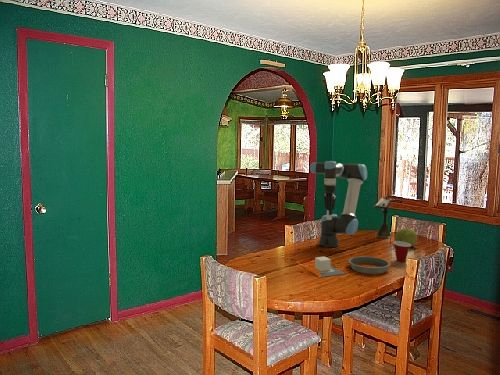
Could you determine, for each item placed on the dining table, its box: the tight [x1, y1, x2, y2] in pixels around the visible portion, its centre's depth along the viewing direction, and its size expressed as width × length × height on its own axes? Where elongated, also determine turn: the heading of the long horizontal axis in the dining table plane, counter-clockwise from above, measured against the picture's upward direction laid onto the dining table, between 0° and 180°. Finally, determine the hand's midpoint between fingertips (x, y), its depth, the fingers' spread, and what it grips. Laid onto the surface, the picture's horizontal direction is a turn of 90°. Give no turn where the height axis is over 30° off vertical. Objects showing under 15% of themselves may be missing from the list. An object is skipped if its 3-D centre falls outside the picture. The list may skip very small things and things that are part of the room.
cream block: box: [314, 256, 332, 272], centre depth 258 cm, size 7×7×7 cm
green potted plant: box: [394, 227, 418, 248], centre depth 314 cm, size 16×14×15 cm
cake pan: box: [348, 256, 390, 275], centre depth 262 cm, size 25×25×4 cm
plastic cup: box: [393, 240, 411, 263], centre depth 278 cm, size 11×11×12 cm
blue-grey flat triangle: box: [318, 265, 346, 278], centre depth 264 cm, size 34×18×1 cm, turn 22°
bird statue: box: [373, 194, 394, 239], centre depth 341 cm, size 17×13×35 cm
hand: (329, 219), depth 282 cm, fingers closed
